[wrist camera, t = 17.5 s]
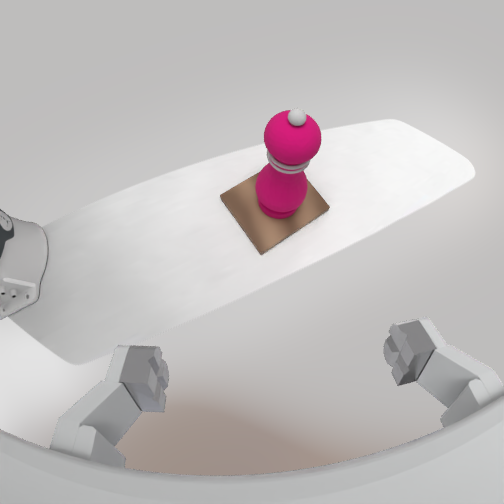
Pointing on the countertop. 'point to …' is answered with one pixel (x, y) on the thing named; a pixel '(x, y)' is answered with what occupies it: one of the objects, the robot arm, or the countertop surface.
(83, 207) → the countertop surface
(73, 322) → the countertop surface
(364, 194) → the countertop surface
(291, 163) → the pepper mill
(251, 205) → the walnut board
